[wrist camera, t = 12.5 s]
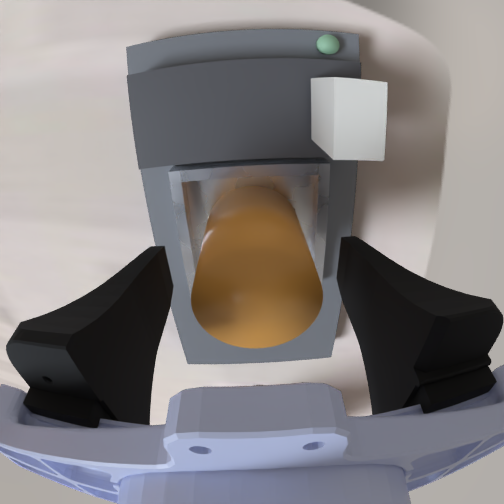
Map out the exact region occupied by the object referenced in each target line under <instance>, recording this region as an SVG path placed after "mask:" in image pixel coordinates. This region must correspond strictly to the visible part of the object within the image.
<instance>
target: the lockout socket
mask: <svg viewBox="0 0 504 504" xmlns="http://www.w3.org/2000/svg"><path fill="white" fill-rule="evenodd" d="M168 174H169V180H170V187H171V193H172V200H173V206H174V212H175V218H176V224H177V230H178V235H179V241H180V246H181V251H182V257H183V262H184V267H185V272H186V277H187V282H188V287H189V292H190V296H191V292H192V287H193V282H194V277H195V273H196V268H197V264H198V259H199V255H200V251H201V246H202V242H203V238H204V233H205V229H206V225H207V221H208V217H209V214H210V212H211V210H212V208H213V206H214V205H215V203H216V202H217V201H218V200H219V199H220V198H221V197H222V196H224V195H225V194H227V193H228V192H230V191H232V190H234V189H237V188H240V187H245V186H262V187H266V188H269V189H272V190H274V191H276V192H278V193H280V194H281V195H283V196H284V197H285V198H286V199H287V200H288V201H289V202H290V203H291V205H292V206H293V208H294V210H295V212H296V215H297V217H298V220H299V223H300V225H301V228H302V231H303V233H304V236H305V239H306V242H307V244H308V247H309V250H310V253H311V256H312V258H313V261H314V264H315V267H316V270H317V273H318V276H319V279H320V281H321V285H322V278H323V268H324V257H325V245H326V233H327V218H328V202H329V182H330V163H329V162H328V161H327V160H326V159H325V158H283V159H256V160H237V161H222V162H209V163H197V164H186V165H176V166H173V167H172V168H171V169H170V171H169V172H168Z"/></svg>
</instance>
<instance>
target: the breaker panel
mask: <svg viewBox="0 0 504 504" xmlns="http://www.w3.org/2000/svg"><path fill="white" fill-rule="evenodd" d="M126 50H127V64H128V75H127V83H128V93H129V102H130V110H131V119H132V126H133V134H134V141H135V147H136V154H137V160H138V166H139V169H141V175H142V180H143V186H144V191H145V197H146V202H147V207H148V212H149V217H150V222H151V227H152V231H153V236H154V241H155V245H156V246H165V250H166V255H167V259H168V264H169V268H170V272H171V277H172V281H173V285H174V287H173V294H172V300H171V309H172V313H173V316H174V320H175V323H176V327H177V330H178V333H179V337H180V340H181V343H182V347H183V350H184V353H185V356H186V360H187V363H188V364H241V363H264V362H281V361H295V360H307V359H318V358H328V357H331V355H332V350H333V345H334V340H335V335H336V330H337V325H338V319H339V314H340V308H341V302H342V298H341V295H340V291H339V287H338V283H337V279H336V277H337V269H338V260H339V251H340V242H341V237H351V231H352V222H353V213H354V202H355V191H356V178H357V163H358V160H333V159H332V158H331V157H330V156H329V155H328V154H327V153H326V152H325V151H324V150H322V149H321V148H320V147H319V146H318V145H317V144H316V143H315V142H314V141H313V140H312V139H311V78H323V77H341V78H353V79H361V63H360V60H359V34H351V33H343V32H332V31H320V30H302V29H251V30H233V31H220V32H210V33H201V34H193V35H186V36H179V37H173V38H167V39H162V40H156V41H151V42H147V43H142V44H137V45H133V46H129V47H126ZM283 158H325V159H326V160H327V161H328V162H329V163H330V182H329V202H328V218H327V233H326V245H325V257H324V268H323V278H322V289H323V302H322V307H321V310H320V312H319V314H318V316H317V318H316V319H315V321H314V322H313V324H312V325H311V326H310V327H309V328H308V329H307V330H306V331H305V332H303V333H302V334H301V335H299V336H298V337H296V338H294V339H293V340H290V341H288V342H286V343H283V344H280V345H277V346H273V347H267V348H243V347H237V346H233V345H230V344H227V343H224V342H222V341H220V340H218V339H216V338H215V337H213V336H212V335H210V334H209V333H208V332H206V331H205V330H204V329H203V328H202V326H201V325H200V324H199V323H198V321H197V319H196V318H195V316H194V313H193V310H192V306H191V296H190V292H189V287H188V282H187V277H186V272H185V267H184V262H183V257H182V251H181V246H180V241H179V235H178V230H177V224H176V218H175V212H174V206H173V200H172V193H171V187H170V180H169V174H168V172H169V171H170V169H171V168H172V167H173V166H176V165H186V164H197V163H209V162H222V161H237V160H256V159H283Z"/></svg>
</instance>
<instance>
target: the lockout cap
mask: <svg viewBox="0 0 504 504" xmlns="http://www.w3.org/2000/svg"><path fill="white" fill-rule="evenodd" d="M322 302H323V289H322V285H321V281H320V279H319V276H318V273H317V270H316V267H315V264H314V261H313V258H312V256H311V253H310V250H309V247H308V244H307V242H306V239H305V236H304V233H303V231H302V228H301V225H300V223H299V220H298V217H297V215H296V212H295V210H294V208H293V206H292V205H291V203H290V202H289V201H288V200H287V199H286V198H285V197H284V196H283V195H281V194H280V193H278V192H276V191H274V190H272V189H269V188H266V187H262V186H245V187H240V188H237V189H234V190H232V191H230V192H228V193H227V194H225V195H224V196H222V197H221V198H220V199H219V200H218V201H217V202H216V203H215V205H214V206H213V208H212V210H211V212H210V214H209V217H208V221H207V225H206V229H205V233H204V238H203V242H202V246H201V251H200V255H199V259H198V264H197V268H196V273H195V277H194V282H193V287H192V292H191V306H192V310H193V313H194V316H195V318H196V319H197V321H198V323H199V324H200V325H201V326H202V328H203V329H204V330H205V331H206V332H208V333H209V334H210V335H212V336H213V337H215V338H216V339H218V340H220V341H222V342H224V343H227V344H230V345H233V346H237V347H243V348H267V347H273V346H277V345H280V344H283V343H286V342H288V341H290V340H293V339H294V338H296V337H298V336H299V335H301V334H302V333H303V332H305V331H306V330H307V329H308V328H309V327H310V326H311V325H312V324H313V322H314V321H315V319H316V318H317V316H318V314H319V312H320V310H321V307H322Z"/></svg>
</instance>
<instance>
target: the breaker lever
mask: <svg viewBox="0 0 504 504" xmlns="http://www.w3.org/2000/svg"><path fill="white" fill-rule="evenodd" d="M386 121H387V82H381V81H373V80H364V79H353V78H341V77H323V78H311V139H312V140H313V141H314V142H315V143H316V144H317V145H318V146H319V147H320V148H321V149H322V150H324V151H325V152H326V153H327V154H328V155H329V156H330V157H331V158H332V159H333V160H366V161H384V154H385V140H386Z"/></svg>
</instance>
